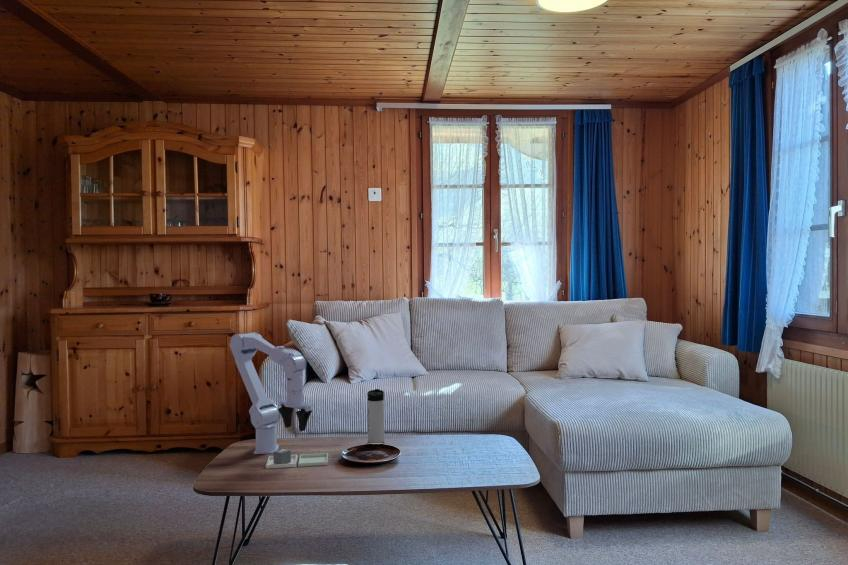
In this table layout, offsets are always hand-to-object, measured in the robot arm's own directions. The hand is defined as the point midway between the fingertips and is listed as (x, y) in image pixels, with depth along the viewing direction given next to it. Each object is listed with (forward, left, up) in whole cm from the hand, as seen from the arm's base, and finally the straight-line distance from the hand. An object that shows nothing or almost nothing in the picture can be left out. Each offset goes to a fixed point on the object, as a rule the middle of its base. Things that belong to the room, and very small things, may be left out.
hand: (295, 428), depth 196 cm
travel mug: (-11, +29, -10) cm, 33 cm away
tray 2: (+6, +7, -10) cm, 13 cm away
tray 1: (+6, -4, -10) cm, 12 cm away
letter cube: (+6, -4, -10) cm, 12 cm away
